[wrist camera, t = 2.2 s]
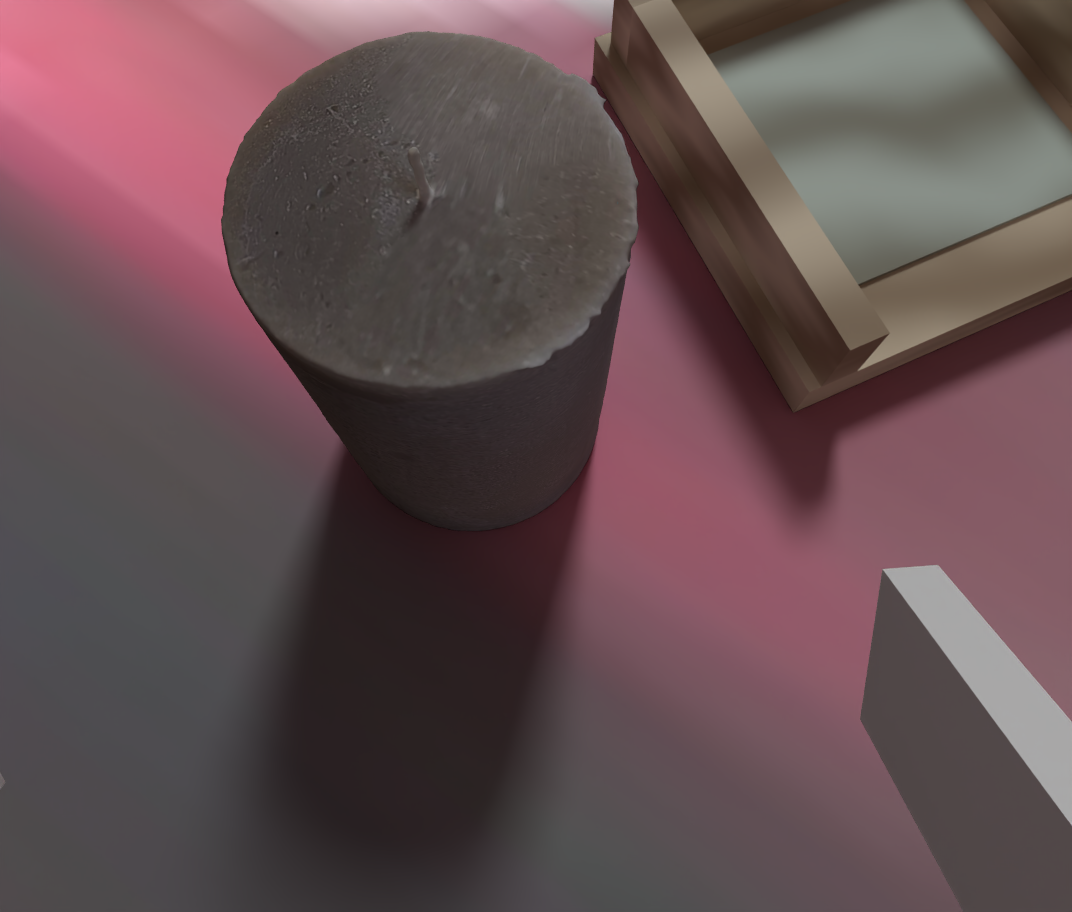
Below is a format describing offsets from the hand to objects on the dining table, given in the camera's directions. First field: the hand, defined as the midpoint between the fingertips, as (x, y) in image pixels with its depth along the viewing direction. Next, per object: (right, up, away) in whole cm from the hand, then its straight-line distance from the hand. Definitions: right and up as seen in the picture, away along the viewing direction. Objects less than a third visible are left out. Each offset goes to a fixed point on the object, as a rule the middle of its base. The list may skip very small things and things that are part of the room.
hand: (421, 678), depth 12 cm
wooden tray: (+16, +16, +23) cm, 32 cm away
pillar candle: (-1, +5, +20) cm, 21 cm away
